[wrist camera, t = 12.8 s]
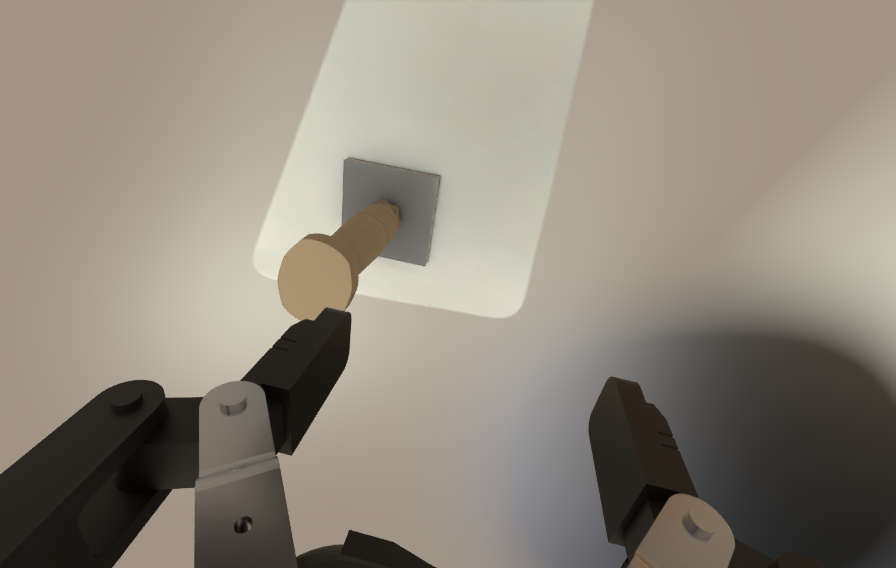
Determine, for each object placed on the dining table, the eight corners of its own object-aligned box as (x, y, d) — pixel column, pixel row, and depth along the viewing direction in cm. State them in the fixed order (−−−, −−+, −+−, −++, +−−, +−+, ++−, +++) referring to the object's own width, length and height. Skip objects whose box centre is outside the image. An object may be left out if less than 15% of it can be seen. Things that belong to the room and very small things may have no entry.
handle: (354, 231, 41) (269, 305, 27) (375, 174, 37) (291, 226, 24) (397, 253, 41) (333, 337, 28) (421, 198, 38) (363, 262, 25)
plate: (348, 157, 38) (343, 159, 37) (440, 175, 38) (438, 178, 37) (345, 243, 43) (341, 248, 42) (427, 261, 42) (425, 266, 41)
